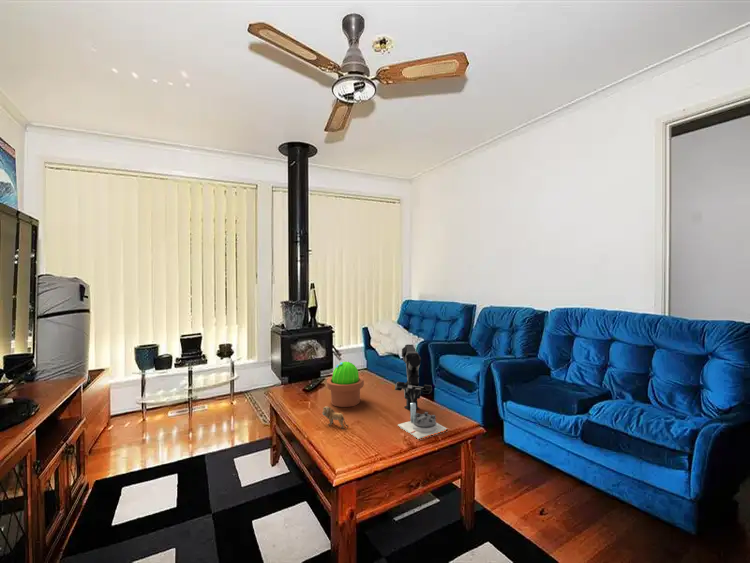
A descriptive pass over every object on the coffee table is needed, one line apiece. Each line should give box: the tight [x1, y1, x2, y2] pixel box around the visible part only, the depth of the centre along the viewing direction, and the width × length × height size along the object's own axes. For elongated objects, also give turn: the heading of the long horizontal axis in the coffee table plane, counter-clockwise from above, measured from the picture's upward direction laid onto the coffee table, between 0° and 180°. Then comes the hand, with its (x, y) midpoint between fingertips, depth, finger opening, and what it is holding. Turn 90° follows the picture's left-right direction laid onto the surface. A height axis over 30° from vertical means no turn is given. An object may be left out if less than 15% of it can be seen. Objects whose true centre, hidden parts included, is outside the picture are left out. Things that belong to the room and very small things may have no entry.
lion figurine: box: [321, 406, 350, 429], centre depth 180 cm, size 15×5×9 cm, turn 68°
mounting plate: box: [397, 420, 448, 440], centre depth 175 cm, size 17×18×3 cm
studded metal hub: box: [409, 402, 437, 428], centre depth 173 cm, size 15×11×12 cm
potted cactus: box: [326, 361, 365, 408], centre depth 212 cm, size 22×22×25 cm
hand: (413, 404), depth 179 cm, fingers closed
